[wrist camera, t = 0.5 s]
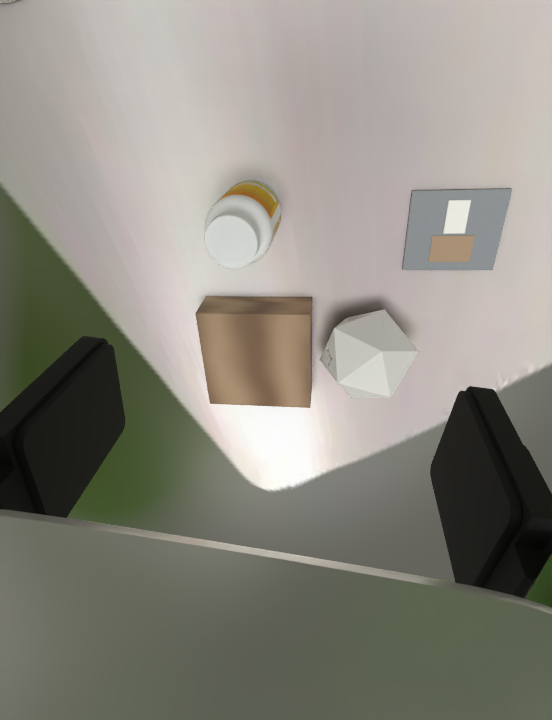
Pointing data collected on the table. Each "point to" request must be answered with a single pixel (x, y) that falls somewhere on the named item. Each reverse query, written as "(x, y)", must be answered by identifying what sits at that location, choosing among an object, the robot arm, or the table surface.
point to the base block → (257, 350)
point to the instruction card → (455, 229)
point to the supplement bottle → (242, 224)
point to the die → (368, 355)
